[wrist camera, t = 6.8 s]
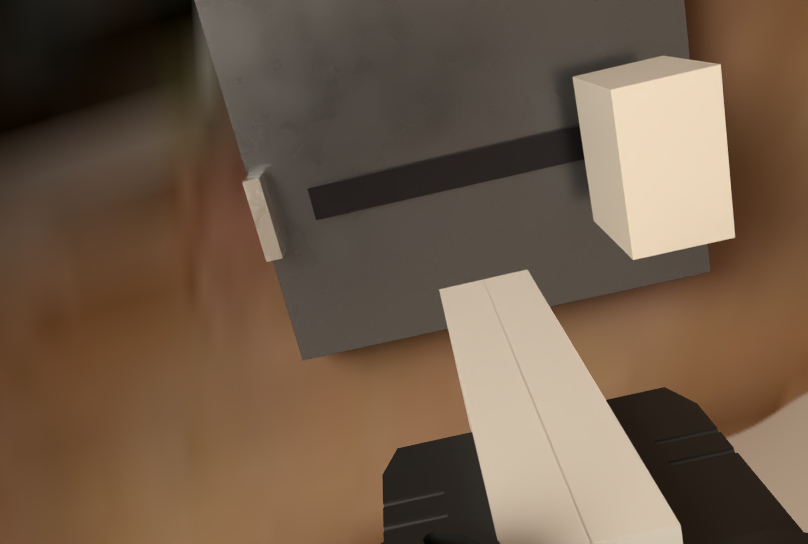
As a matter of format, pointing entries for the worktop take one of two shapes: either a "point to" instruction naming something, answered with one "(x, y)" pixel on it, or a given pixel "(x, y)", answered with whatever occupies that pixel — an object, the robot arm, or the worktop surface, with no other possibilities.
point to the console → (426, 151)
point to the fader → (657, 154)
